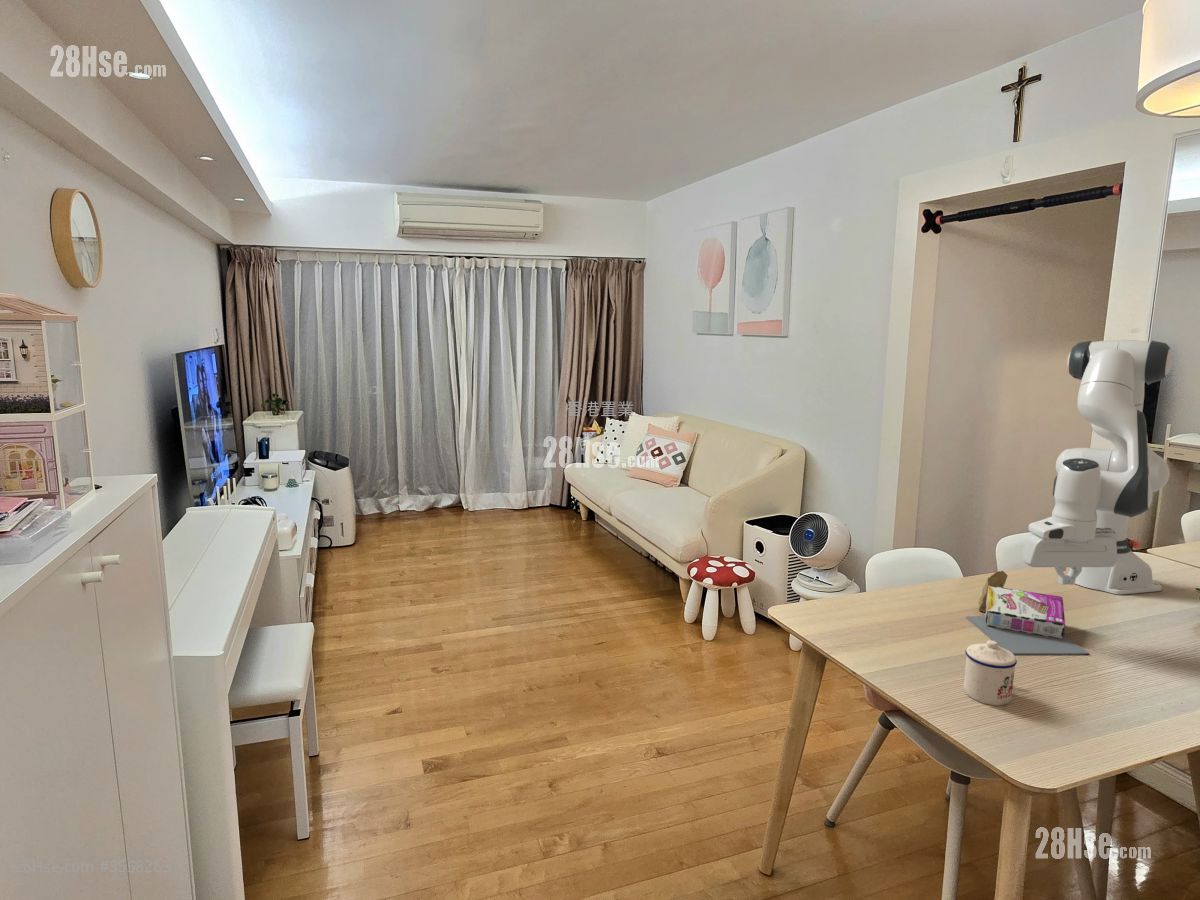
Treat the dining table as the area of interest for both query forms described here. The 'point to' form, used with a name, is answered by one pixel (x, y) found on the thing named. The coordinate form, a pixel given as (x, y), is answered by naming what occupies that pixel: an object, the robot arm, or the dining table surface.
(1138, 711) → the dining table surface
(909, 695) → the dining table surface
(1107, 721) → the dining table surface
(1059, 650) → the mat
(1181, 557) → the dining table surface
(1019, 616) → the candy bar box
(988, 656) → the teacup with lid
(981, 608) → the rock
